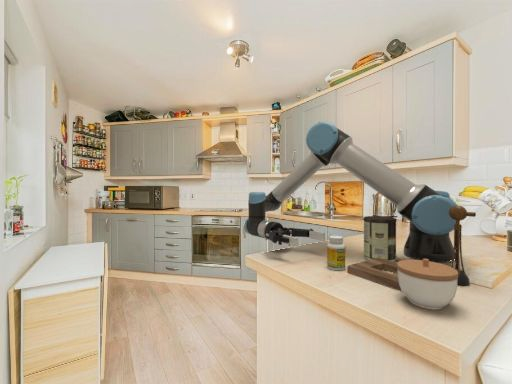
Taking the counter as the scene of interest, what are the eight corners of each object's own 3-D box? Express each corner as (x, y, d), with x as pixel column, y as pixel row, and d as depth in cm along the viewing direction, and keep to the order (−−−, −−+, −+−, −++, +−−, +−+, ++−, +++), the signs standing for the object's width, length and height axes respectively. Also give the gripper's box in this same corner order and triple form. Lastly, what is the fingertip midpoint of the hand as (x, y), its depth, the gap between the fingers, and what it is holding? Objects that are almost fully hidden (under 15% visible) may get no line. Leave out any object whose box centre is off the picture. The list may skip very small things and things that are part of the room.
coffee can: (386, 254, 90) (386, 216, 90) (402, 262, 80) (403, 219, 80) (358, 254, 90) (358, 216, 90) (371, 262, 80) (371, 219, 80)
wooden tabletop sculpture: (478, 285, 61) (479, 206, 60) (468, 289, 59) (469, 206, 58) (451, 278, 66) (452, 204, 66) (441, 280, 64) (442, 205, 64)
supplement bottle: (334, 264, 79) (334, 234, 78) (349, 268, 74) (349, 237, 74) (323, 267, 76) (323, 236, 75) (337, 272, 71) (337, 239, 71)
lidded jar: (387, 300, 53) (387, 257, 53) (409, 288, 60) (409, 250, 59) (446, 322, 45) (447, 271, 44) (465, 305, 51) (466, 260, 51)
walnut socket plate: (377, 263, 79) (377, 257, 79) (430, 278, 66) (430, 271, 66) (347, 272, 71) (347, 265, 71) (400, 290, 58) (400, 282, 58)
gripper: (292, 236, 107) (333, 245, 90) (245, 243, 92) (284, 256, 75) (292, 219, 107) (333, 225, 90) (245, 224, 92) (284, 232, 75)
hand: (311, 239), depth 83 cm, fingers open, 13 cm apart
